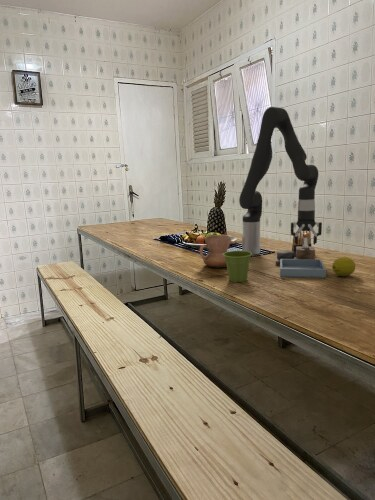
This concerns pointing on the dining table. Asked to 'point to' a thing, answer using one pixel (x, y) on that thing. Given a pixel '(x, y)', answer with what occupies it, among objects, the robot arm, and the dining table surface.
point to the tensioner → (299, 254)
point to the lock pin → (305, 240)
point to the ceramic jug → (216, 250)
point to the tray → (302, 268)
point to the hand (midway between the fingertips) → (305, 244)
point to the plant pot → (237, 265)
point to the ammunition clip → (300, 241)
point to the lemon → (343, 266)
